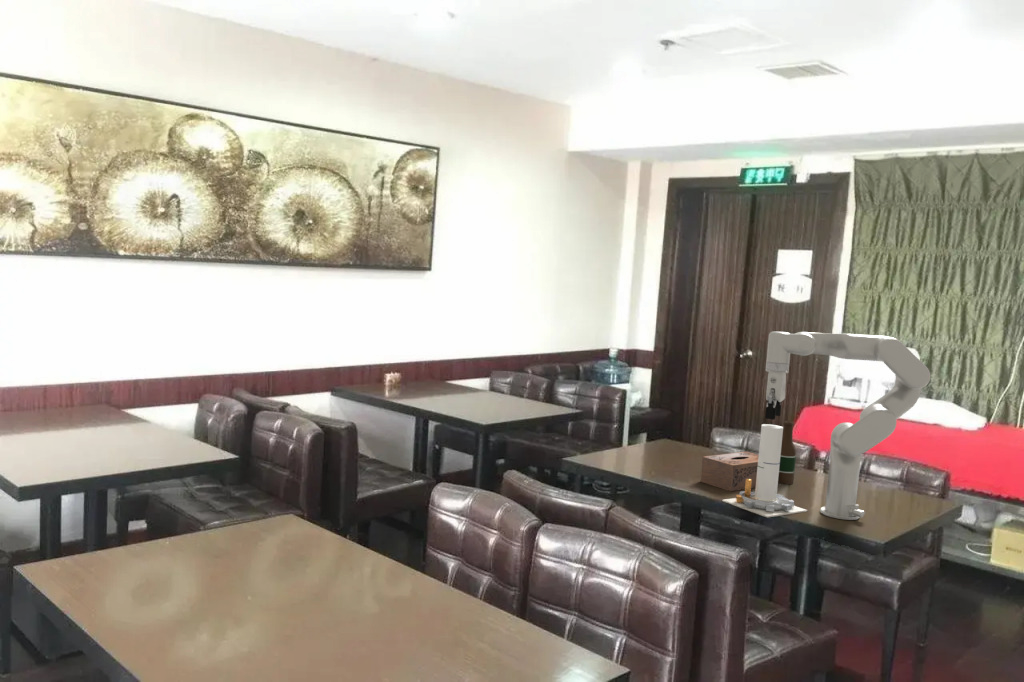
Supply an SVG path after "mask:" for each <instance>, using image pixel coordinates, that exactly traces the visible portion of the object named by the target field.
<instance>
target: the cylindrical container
mask: <svg viewBox="0 0 1024 682" xmlns="http://www.w3.org/2000/svg"><path fill="white" fill-rule="evenodd" d="M783 430H784V426H780V425H778V424H777V425H776V424H771V423H769V424H768V423H767V424H766V423H763V424H761V428H760V436H759V437H760V439H759V447H758V455H759V457H758V467H757V478H756V487H754V489H755V491H754V492H755V497H756V498H759V499H763V500H776V496H777V494H778V485H779V483H778V476H779V465H780V455H781V445H782V436H783Z"/></svg>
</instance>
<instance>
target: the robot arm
mask: <svg viewBox="0 0 1024 682" xmlns="http://www.w3.org/2000/svg"><path fill="white" fill-rule="evenodd" d="M791 354H793V355H798V356H801V357H802V356H804V357H805V356H810V355H822V356H823V355H824V356H830V357H835V358H838V359H843V360H854V361H871V362H883V364H884V365H886V367H887V368H889V370H890V371H891V372H892V373H894V375H895V381H894V385H893V387H892V388H891V389H890V390H889V391H887V392H886V393H885V394H884V395H882V396H881V397H880V398H879V399H877V400H876V401H874V402H873V403H871V404H869V405H867V406H865V408H864V409H862V410H861V412H860V414H859V420H857V421H856V422H855V423H853V422H852V423H851V422H847V421H846V422H841V423H838V424H837V425H836V426H835V427H834V428H833V430H832V431H831V434H830V456H829V457H830V458H829V466H828V467H829V468H828V476H827V477H828V478H827V487H826V497H825V498H826V499H825V505H824V506H822V507H820V511H819V512H820V513H821V514H822V515H824V516H827V517H830V518H833V519H839V520H844V521H856V520H859V519H860V518H863V517H864V516H865V514H866V511H865V510H862V509H860V508H859V507H860V505H859V504H858V503H857V497H858V488H859V487H858V486H859V478H860V477H859V476H860V470H861V469H860V468H861V455H864V454H865V453H866V452H868V451H869V450H871V449H872V448H874V447H876V446H877V445H878V444H880V443H881V442H883V441H884V440H886V439H888V438H889V437H890V436H891V435H892V434H893V433H894V431H895V429H896V428H897V420H898V419H899V418H900V417H902V416H903V415H904V414H906V413H907V412H908V411H911V409H913V407H914V406H915V405H916V403H917V401H918V400H919V398H920V395H921V392H922V389H924V388H925V387H926V386H927V385H928V384H929V383H930V381H931V376H932V375H931V372H930V369H929V368H928V366H926V365H925V364H924V363H923V362H922V361H921V360H920V359H919V358H918V357H917V356H916V355H915V354H914V352H912V351H911V350H910V349H909V348H908V347H907V346H906V345H905V344H904V343H903V342H902V341H900V339H898V338H895V337H892V336H887V335H873V334H871V335H870V334H858V333H857V334H854V333H828V332H826V333H825V332H823V333H822V332H808V331H798V332H796V333H790V332H788V331H787V332H786V331H770V332H769V333H768V339H767V350H766V364H765V372H767V373H768V374H767V382H766V390H765V392H766V393H765V399H766V401H767V402H766V406H765V416H764V417H765V419H766V420H776V417H780V416H781V412H782V401H785V399H786V389H787V388H786V385H787V374H789V371H790V370H789V369H790V361H791Z"/></svg>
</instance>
